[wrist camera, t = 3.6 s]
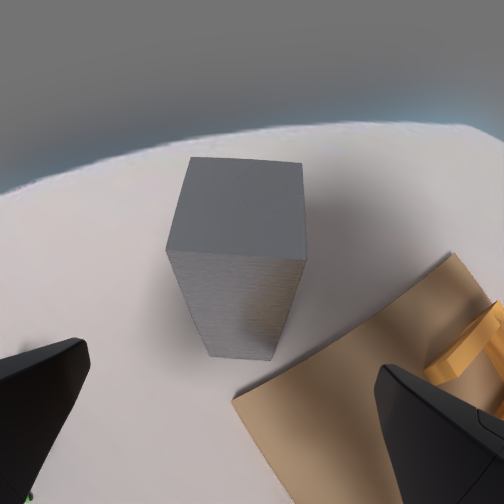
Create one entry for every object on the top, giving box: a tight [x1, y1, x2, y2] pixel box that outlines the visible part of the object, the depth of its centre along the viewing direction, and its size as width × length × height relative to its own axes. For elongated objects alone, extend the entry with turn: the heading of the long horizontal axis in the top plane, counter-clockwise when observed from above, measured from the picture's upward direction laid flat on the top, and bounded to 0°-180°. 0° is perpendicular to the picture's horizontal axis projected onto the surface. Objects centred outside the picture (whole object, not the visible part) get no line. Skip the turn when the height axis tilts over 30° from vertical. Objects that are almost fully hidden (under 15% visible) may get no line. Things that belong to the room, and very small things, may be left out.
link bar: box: [166, 157, 307, 361], centre depth 15 cm, size 4×4×13 cm
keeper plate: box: [231, 253, 504, 504], centre depth 16 cm, size 22×16×4 cm
